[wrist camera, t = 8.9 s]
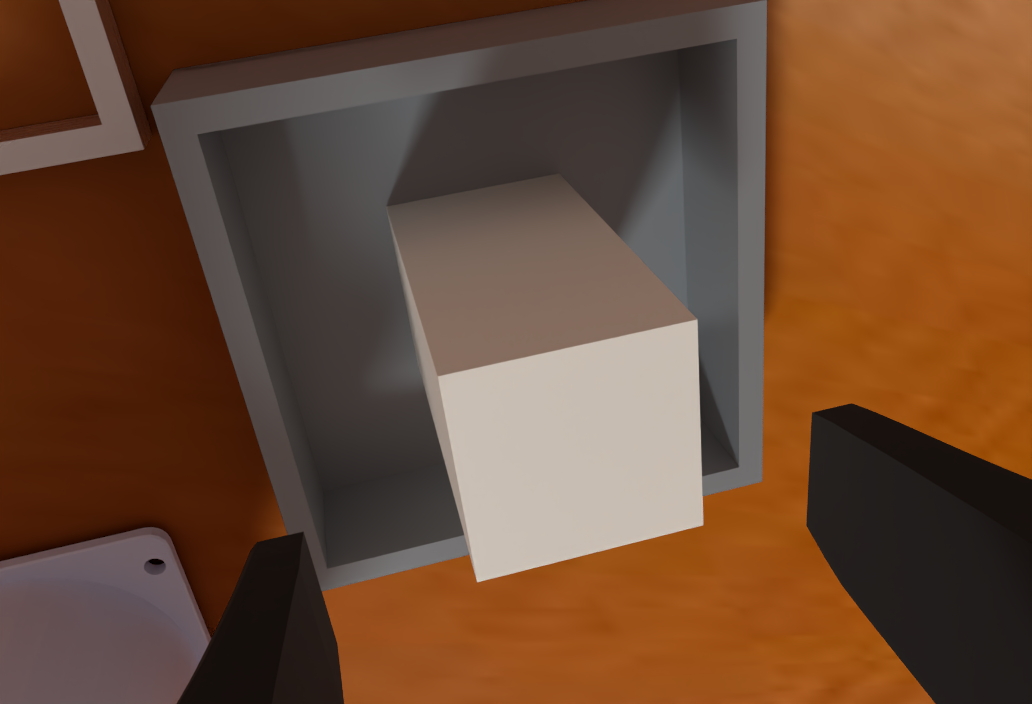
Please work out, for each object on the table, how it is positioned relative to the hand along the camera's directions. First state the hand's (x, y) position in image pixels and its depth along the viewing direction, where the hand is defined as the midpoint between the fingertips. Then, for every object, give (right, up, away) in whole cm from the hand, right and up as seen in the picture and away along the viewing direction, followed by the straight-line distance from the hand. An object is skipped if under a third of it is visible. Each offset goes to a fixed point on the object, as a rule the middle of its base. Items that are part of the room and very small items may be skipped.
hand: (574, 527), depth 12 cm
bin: (-2, +4, +9) cm, 10 cm away
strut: (-2, +4, +9) cm, 10 cm away
